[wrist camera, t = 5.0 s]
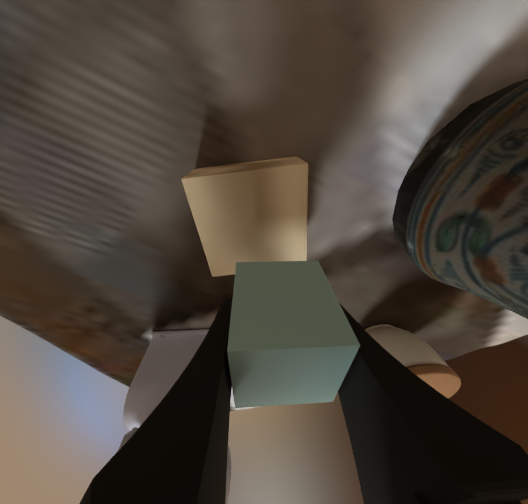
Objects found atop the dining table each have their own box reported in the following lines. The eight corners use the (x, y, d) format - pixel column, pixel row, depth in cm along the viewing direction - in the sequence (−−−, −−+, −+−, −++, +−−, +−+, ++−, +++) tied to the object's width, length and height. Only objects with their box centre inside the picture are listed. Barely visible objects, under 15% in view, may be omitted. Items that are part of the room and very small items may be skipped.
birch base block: (218, 251, 20) (212, 276, 17) (195, 167, 16) (181, 178, 12) (296, 242, 20) (306, 265, 17) (295, 155, 16) (308, 163, 12)
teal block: (240, 316, 13) (235, 407, 9) (236, 262, 11) (227, 351, 6) (306, 314, 13) (332, 401, 9) (317, 260, 11) (360, 345, 7)
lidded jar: (328, 333, 28) (359, 414, 20) (404, 301, 25) (474, 380, 17) (354, 364, 33) (386, 438, 25) (419, 340, 30) (478, 414, 22)
